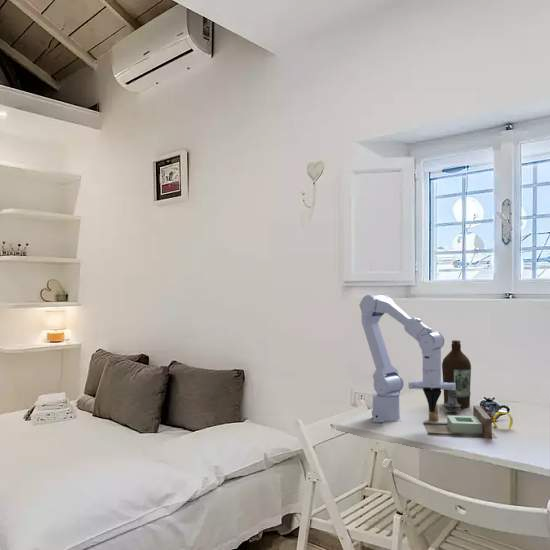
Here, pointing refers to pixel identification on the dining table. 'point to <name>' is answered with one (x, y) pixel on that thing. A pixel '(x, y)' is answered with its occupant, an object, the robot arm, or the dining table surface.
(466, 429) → the sage socket block
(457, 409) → the salt shaker
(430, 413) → the oak dowel
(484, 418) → the walnut board
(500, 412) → the watch
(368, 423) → the dining table surface
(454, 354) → the olive oil
